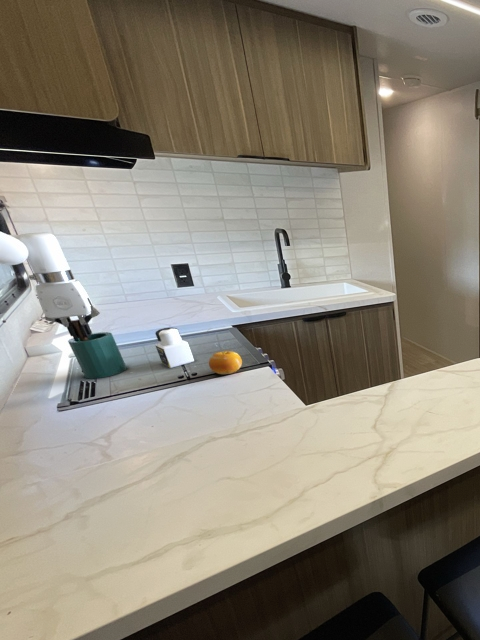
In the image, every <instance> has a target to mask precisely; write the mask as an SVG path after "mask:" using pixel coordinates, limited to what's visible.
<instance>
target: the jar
mask: <svg viewBox="0 0 480 640" xmlns="http://www.w3.org/2000/svg"><path fill="white" fill-rule="evenodd" d="M67 343H68V344H69V346H70V348H71V351H72V353H73V355H74V357H75V359H76V361H77V363H78V365H79V367H80V369H81V371H82V373H83V375H84V377H85V379H102V378H107V377H110V376H111V377H112V376H115V375H118V374H121V373H123V372H124V371H126V370H127V366H126V363H125V361H124V359H123V356H122V354H121V351H120V349H119V347H118V345H117V342H116V340H115V337H114V336H113V334H112V332H108V331H106V332H105V331H102V332H92V334H91V336H90V337H88V340H87V341H80V339H79V338H78V339H74V338H73V337H72V338H70V339H69V340H67Z"/></svg>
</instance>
